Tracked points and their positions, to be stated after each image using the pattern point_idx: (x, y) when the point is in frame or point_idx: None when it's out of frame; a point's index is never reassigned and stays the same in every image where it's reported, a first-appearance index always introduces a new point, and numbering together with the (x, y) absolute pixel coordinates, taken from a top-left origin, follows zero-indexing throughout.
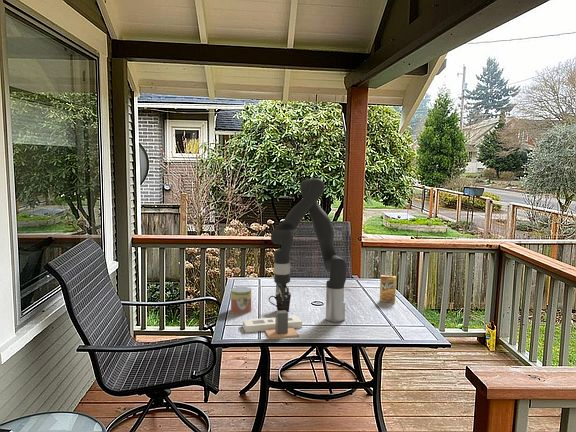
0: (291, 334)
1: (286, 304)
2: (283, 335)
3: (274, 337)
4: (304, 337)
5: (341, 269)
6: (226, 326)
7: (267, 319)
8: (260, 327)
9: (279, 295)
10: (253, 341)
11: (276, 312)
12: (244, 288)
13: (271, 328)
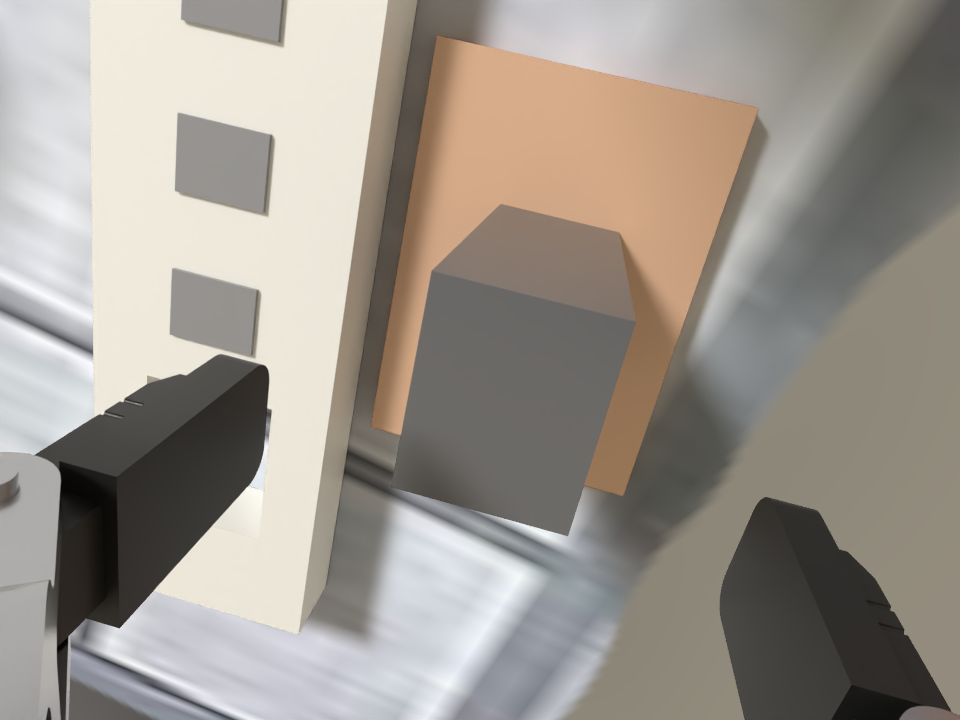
0: (683, 203)
1: (901, 649)
2: (656, 322)
3: (641, 440)
4: (839, 40)
5: None
6: (115, 650)
7: (147, 320)
8: (330, 475)
9: (91, 581)
10: (588, 636)
11: (473, 506)
12: None
13: (359, 338)
